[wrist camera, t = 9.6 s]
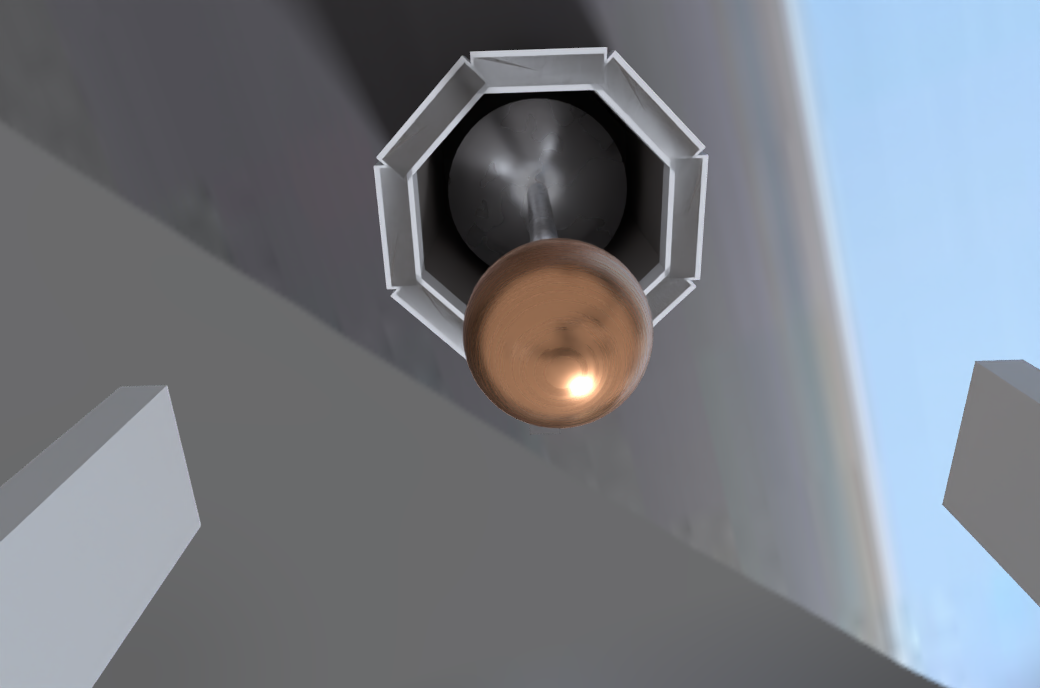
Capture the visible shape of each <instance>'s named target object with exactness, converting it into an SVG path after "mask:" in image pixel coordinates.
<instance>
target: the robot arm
mask: <svg viewBox="0 0 1040 688" xmlns="http://www.w3.org/2000/svg"><path fill="white" fill-rule="evenodd" d="M942 505H943V506H944V507H945V508H946V509H947V510H948V511H949V512H950V513H951V514H952V515H953V516H954V517H955V518H956V519H957V520H958V521H959V522H960V524H961V525H962V526H963V527H964V528H965V529H966V530H967V531H968V532H969V533H970V534H971V535H972V536H973V537H974V538H975V539H976V540H977V541H978V542H979V544H980V545H981V546H982V547H983V548H984V549H985V550H986V551H987V552H988V553H989V554H990V555H991V556H992V557H993V558H994V559H995V560H996V561H997V562H998V564H999V565H1000V566H1001V567H1002V568H1003V569H1004V570H1005V571H1006V572H1007V573H1008V574H1009V575H1010V576H1011V577H1012V578H1013V579H1014V580H1015V581H1016V582H1017V583H1018V585H1019V586H1020V587H1021V588H1022V589H1023V590H1024V591H1025V592H1026V593H1027V594H1028V595H1029V596H1030V597H1031V598H1032V599H1033V600H1034V601H1035V602H1036V603H1037V605H1038V606H1039V607H1040V370H1039V369H1038V368H1036V367H1034V366H1033V365H1031V364H1029V363H1028V362H1026V361H1024V360H996V361H975V365H974V369H973V374H972V378H971V382H970V387H969V391H968V395H967V400H966V404H965V408H964V413H963V417H962V421H961V426H960V430H959V434H958V439H957V443H956V447H955V452H954V456H953V460H952V465H951V469H950V474H949V478H948V482H947V487H946V491H945V495H944V500H943V504H942ZM200 526H201V523H200V519H199V515H198V511H197V507H196V502H195V498H194V494H193V490H192V486H191V482H190V478H189V474H188V469H187V465H186V461H185V457H184V453H183V449H182V444H181V441H180V436H179V432H178V428H177V424H176V420H175V415H174V412H173V407H172V403H171V399H170V395H169V391H168V386H167V385H160V386H129V387H127V386H126V387H125V386H124V387H119V388H118V389H117V390H116V391H115V392H113V393H112V394H111V395H110V396H109V397H107V398H106V399H105V400H104V401H103V402H101V403H100V404H99V405H98V406H97V407H95V408H94V409H93V410H92V411H91V412H89V413H88V414H87V415H86V416H85V417H84V418H82V419H81V420H80V421H79V422H77V423H76V424H75V425H74V426H73V427H71V428H70V429H69V430H68V431H67V432H65V433H64V434H63V435H62V436H61V437H59V438H58V439H57V440H56V441H55V442H53V443H52V444H51V445H50V446H49V447H48V448H46V449H45V450H44V451H43V452H41V453H40V454H39V455H38V456H37V457H35V458H34V459H33V460H32V461H31V462H30V463H28V464H27V465H26V466H25V467H24V468H22V469H21V470H20V471H19V472H17V473H16V474H15V475H14V476H13V477H11V478H10V479H9V480H8V481H7V482H6V483H4V484H3V485H2V486H1V487H0V688H92V687H93V685H94V684H95V682H96V681H97V679H98V678H99V676H100V674H101V673H102V672H103V670H104V669H105V667H106V666H107V664H108V663H109V661H110V660H111V658H112V657H113V656H114V654H115V653H116V651H117V650H118V648H119V646H120V645H121V644H122V642H123V641H124V639H125V638H126V636H127V635H128V633H129V632H130V630H131V629H132V627H133V626H134V624H135V623H136V621H137V620H138V618H139V617H140V615H141V614H142V612H143V611H144V609H145V608H146V606H147V605H148V604H149V602H150V601H151V599H152V597H153V596H154V595H155V593H156V592H157V590H158V589H159V587H160V586H161V584H162V583H163V581H164V580H165V578H166V577H167V575H168V574H169V572H170V571H171V569H172V568H173V566H174V565H175V563H176V562H177V560H178V559H179V557H180V556H181V554H182V553H183V551H184V550H185V548H186V547H187V546H188V544H189V542H190V541H191V540H192V538H193V536H194V535H195V534H196V532H197V531H198V529H199V528H200Z"/></svg>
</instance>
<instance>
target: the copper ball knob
mask: <svg viewBox="0 0 1040 688" xmlns="http://www.w3.org/2000/svg"><path fill="white" fill-rule="evenodd" d="M626 196H627V178H626V173H625V167H624V164H623V160H622V157H621V155H620V152H619V150H618V148H617V146H616V144H615V143H614V141H613V139H612V138H611V136H610V135H609V134H608V132H607V131H606V130H605V129H604V128H603V126H602V125H601V124H599V123H598V122H597V121H596V120H595V119H594V118H593V117H591V116H590V115H589V114H587V113H586V112H584V111H583V110H581V109H579V108H577V107H575V106H573V105H571V104H568V103H565V102H562V101H559V100H553V99H548V98H530V99H522V100H518V101H514V102H510V103H508V104H505V105H503V106H500V107H498V108H497V109H495V110H493V111H491V112H490V113H488V114H487V115H486V116H484V117H483V118H482V119H480V120H479V121H478V122H477V123H476V124H475V125H474V126H473V127H472V128H471V130H470V131H469V132H468V134H467V135H466V136H465V138H464V139H463V141H462V143H461V144H460V146H459V148H458V150H457V152H456V154H455V157H454V159H453V162H452V166H451V170H450V174H449V182H448V198H449V205H450V210H451V214H452V218H453V221H454V223H455V225H456V228H457V230H458V232H459V234H460V235H461V237H462V239H463V240H464V242H465V243H466V244H467V246H468V247H469V248H470V249H471V250H472V251H473V252H474V253H475V254H476V255H477V257H479V258H480V259H481V260H483V261H484V262H485V263H486V264H488V265H490V267H489V268H488V269H487V270H486V272H485V273H484V274H483V275H482V276H481V278H480V279H479V281H478V283H477V284H476V286H475V287H474V289H473V292H472V294H471V296H470V298H469V301H468V304H467V307H466V311H465V315H464V322H463V345H464V352H465V356H466V359H467V363H468V366H469V368H470V371H471V373H472V375H473V377H474V379H475V381H476V382H477V384H478V386H479V387H480V389H481V390H482V391H483V392H484V393H485V395H486V396H487V397H488V398H489V399H490V400H491V401H492V402H493V403H494V404H495V405H496V406H497V407H498V408H500V409H501V410H502V411H504V412H505V413H507V414H508V415H510V416H512V417H514V418H516V419H518V420H521V421H523V422H526V423H528V424H532V425H535V426H539V427H546V428H571V427H576V426H581V425H585V424H588V423H591V422H594V421H596V420H598V419H600V418H602V417H604V416H606V415H607V414H609V413H610V412H612V411H613V410H615V409H616V408H617V407H618V406H620V405H621V404H622V403H623V402H624V401H625V400H626V399H627V398H628V397H629V396H630V395H631V394H632V392H633V391H634V390H635V388H636V387H637V386H638V384H639V382H640V380H641V379H642V377H643V375H644V373H645V370H646V368H647V365H648V363H649V360H650V356H651V352H652V344H653V321H652V315H651V311H650V307H649V304H648V301H647V298H646V295H645V293H644V291H643V289H642V287H641V285H640V284H639V282H638V281H637V279H636V278H635V277H634V275H633V274H632V273H631V272H630V271H629V269H628V268H627V267H626V266H625V265H624V264H623V263H622V262H621V261H619V260H618V259H617V258H616V257H615V256H613V255H612V254H610V253H608V252H607V251H605V250H603V249H604V248H605V247H606V246H607V245H608V243H609V242H610V240H611V239H612V237H613V236H614V234H615V232H616V230H617V228H618V226H619V225H620V222H621V219H622V216H623V213H624V209H625V204H626Z"/></svg>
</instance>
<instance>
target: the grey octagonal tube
mask: <svg viewBox="0 0 1040 688" xmlns="http://www.w3.org/2000/svg"><path fill="white" fill-rule="evenodd" d="M470 59H471V61H470V60H469V59H468V58H467V57H466V56H461V57H460V59H459V60H458V61H457V62H456V63H455V65H454V66H453V67H452V68H451V69H450V71H449V72H448V73H447V74H446V75H445V76H444V78H443V79H442V80H441V81H440V82H439V84H438V85H437V86H436V87H435V88H434V90H433V91H432V92H431V93H430V94H429V95H428V97H427V98H426V99H425V100H424V101H423V103H422V104H421V105H420V106H419V107H418V109H417V110H416V111H415V112H414V113H413V114H412V116H411V117H410V118H409V119H408V120H407V122H406V123H405V124H404V125H403V126H402V128H401V129H400V130H399V131H398V132H397V133H396V135H395V136H394V137H393V138H392V139H391V141H390V142H389V143H388V144H387V145H386V146H385V148H384V149H383V150H382V151H381V152H380V154H379V155H378V156H377V157H376V158H377V159H378V160H379V162H378V163H377V164H375V165H374V173H375V182H376V192H377V201H378V211H379V220H380V229H381V239H382V248H383V258H384V267H385V276H386V286H387V289H394V290H393V292H392V294H391V297H392V298H394V299H395V300H396V301H397V302H398V303H400V304H401V305H402V306H403V307H404V308H406V309H407V310H408V311H409V312H410V313H411V314H413V315H414V316H415V317H416V318H417V319H419V320H420V321H421V322H422V323H423V324H425V325H426V326H427V327H428V328H429V329H431V330H432V331H433V332H434V333H435V334H436V335H438V336H439V337H440V338H441V339H442V340H444V341H445V342H446V343H447V344H448V345H450V346H451V347H452V348H453V349H454V350H456V351H457V352H458V353H459V354H460V355H462V356H463V357H464V358H465V359H466V356H465V352H464V345H463V322H464V315H465V311H466V307H467V304H468V301H469V298H470V296H471V294H472V292H473V289H474V287H475V286H476V284H477V283H478V281H479V279H480V278H481V276H482V275H483V274H484V273H485V272H486V270H487V269H488V268H489V267H490V265H488V264H486V263H485V262H484V261H483V260H481V259H480V258H479V257H477V255H476V254H475V253H474V252H473V251H472V250H471V249H470V248H469V247H468V246H467V244H466V243H465V242H464V240H463V239H462V237H461V235H460V234H459V232H458V230H457V228H456V225H455V223H454V221H453V218H452V214H451V210H450V205H449V198H448V182H449V174H450V170H451V166H452V162H453V159H454V157H455V154H456V152H457V150H458V148H459V146H460V144H461V143H462V141H463V139H464V138H465V136H466V135H467V134H468V132H469V131H470V130H471V128H472V127H473V126H474V125H475V124H476V123H477V122H478V121H479V120H480V119H482V118H483V117H484V116H486V115H487V114H488V113H490V112H491V111H493V110H495V109H497V108H498V107H500V106H503V105H505V104H508V103H510V102H514V101H518V100H522V99H530V98H548V99H553V100H559V101H562V102H565V103H568V104H571V105H573V106H575V107H577V108H579V109H581V110H583V111H584V112H586V113H587V114H589V115H590V116H591V117H593V118H594V119H595V120H596V121H597V122H598V123H599V124H601V125H602V126H603V128H604V129H605V130H606V131H607V132H608V134H609V135H610V136H611V138H612V139H613V141H614V143H615V144H616V146H617V148H618V150H619V152H620V155H621V157H622V160H623V164H624V167H625V173H626V178H627V196H626V204H625V209H624V213H623V216H622V219H621V222H620V225H619V226H618V228H617V230H616V232H615V234H614V236H613V237H612V239H611V240H610V242H609V243H608V245H607V246H606V247H605V248H604V249H603V250H605V251H607V252H608V253H610V254H612V255H613V256H615V257H616V258H617V259H618V260H619V261H621V262H622V263H623V264H624V265H625V266H626V267H627V268H628V269H629V271H630V272H631V273H632V274H633V275H634V277H635V278H636V279H637V281H638V282H639V284H640V285H641V287H642V289H643V291H644V293H645V295H646V298H647V301H648V304H649V307H650V311H651V315H652V321H653V327H654V326H655V325H656V324H657V323H658V322H659V321H660V320H661V319H662V318H663V317H664V316H665V315H667V314H668V313H669V312H670V311H671V310H672V309H673V308H674V307H675V306H676V305H677V304H678V303H679V302H681V301H682V300H683V299H684V298H685V297H686V296H687V295H688V294H689V293H690V292H691V291H692V290H694V289H695V288H696V285H695V284H694V283H693V282H692V280H700V272H701V257H702V242H703V227H704V213H705V198H706V183H707V168H708V155H707V154H705V153H704V152H702V150H703V149H704V148H705V146H704V145H703V144H702V143H701V142H700V141H699V139H698V138H697V137H696V136H695V135H694V134H693V133H692V132H691V131H690V130H689V129H688V128H687V127H686V126H685V124H684V123H683V122H682V121H681V120H680V119H679V118H678V117H677V116H676V115H675V114H674V113H673V112H672V111H671V109H670V108H669V107H668V106H667V105H666V104H665V103H664V102H663V101H662V100H661V99H660V98H659V97H658V96H657V95H656V93H655V92H654V91H653V90H652V89H651V88H650V87H649V86H648V85H647V84H646V83H645V82H644V81H643V80H642V78H641V77H640V76H639V75H638V74H637V73H636V72H635V71H634V70H633V69H632V68H631V67H630V66H629V65H628V64H627V62H626V61H625V60H624V59H623V58H622V57H621V56H620V55H619V54H618V53H617V52H616V51H615V50H614V51H610V52H609V54H608V55H607V47H593V48H563V49H533V50H503V51H473V52H470ZM466 360H467V359H466ZM529 427H530V435H532V434H560V428H546V427H539V426H535V425H532V424H529Z"/></svg>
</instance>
